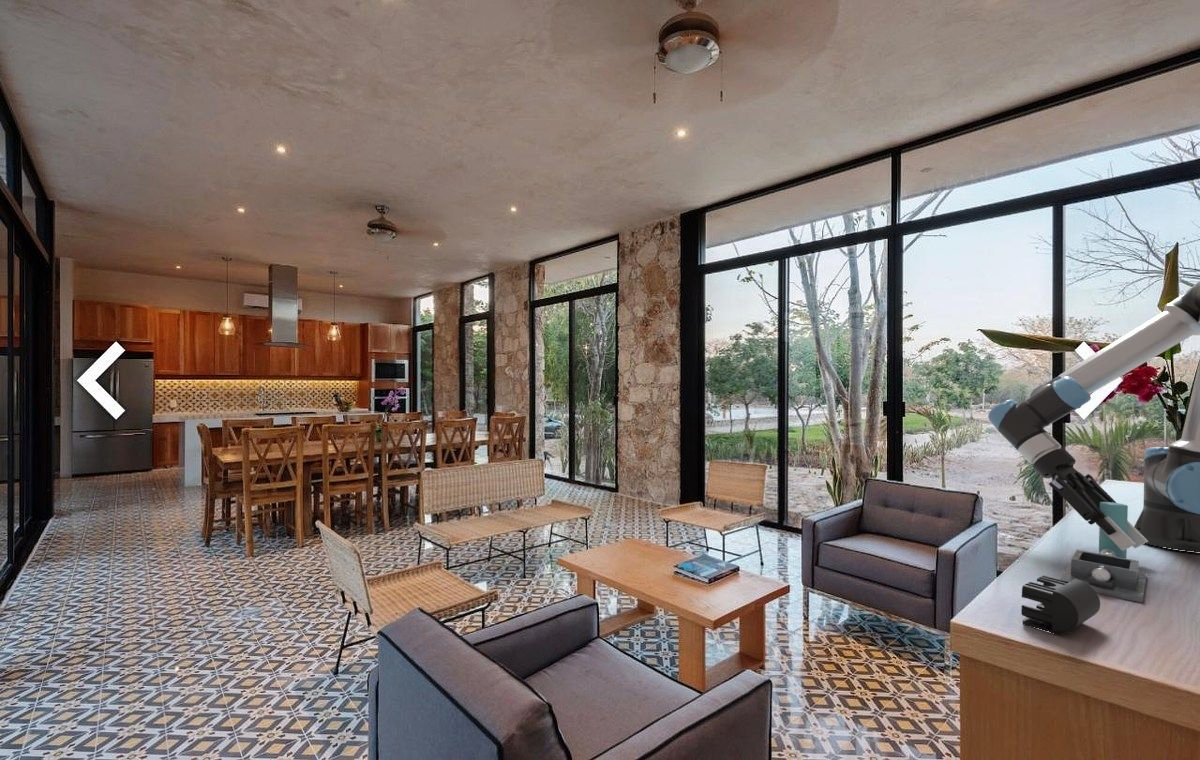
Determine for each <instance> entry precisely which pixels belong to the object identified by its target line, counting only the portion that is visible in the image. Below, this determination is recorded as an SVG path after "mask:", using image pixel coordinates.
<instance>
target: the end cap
mask: <svg viewBox="0 0 1200 760" xmlns="http://www.w3.org/2000/svg"><path fill="white" fill-rule="evenodd" d="M1036 582H1039V583H1040V584H1039V583H1036ZM1036 582H1032V581H1029V582H1026V583H1025V584H1023V585H1022V586H1021V587H1022V588H1021V598H1024V599H1028V600H1031V601H1034V602H1038V604H1037V605H1036V608H1035V607H1033V606H1030V605H1025V604H1021V610H1020V611H1021V613H1020V614H1021V615H1022V616H1023V617H1025V618H1023V619H1022V623H1023V624H1022V625H1024V624H1025V625H1024V626H1026V625H1028V626H1027V627H1029V626H1031V627H1030V628H1032V627H1035V628H1039V629H1042V630H1045V631H1049V632H1051V633H1054V634H1058V635H1057V636H1059V635H1063V634H1066V633H1069V632H1072V630H1075V629H1076V628H1077V627H1079V626H1080V625H1082V624H1084V623H1085V622H1086V621H1088V620H1089V619H1092V618H1093V617H1094V616H1096V614H1098V613H1099V611H1100V608H1101V599H1100V596H1099V594H1098V593H1096V591H1095V590H1094V589H1093V588H1092V587H1091V586H1090V585H1088V584H1087V583H1085V582H1083V581H1081V580H1078V579H1074V580H1072V581H1070V582H1067V581H1063V580H1060V579H1058V578H1055V577H1050V576H1047V575H1041V576H1040V577H1038V578H1036ZM1041 583H1042V584H1041ZM1035 628H1034V629H1035ZM1054 634H1053V635H1054Z"/></svg>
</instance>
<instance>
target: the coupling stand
mask: <svg viewBox="0 0 1200 760" xmlns="http://www.w3.org/2000/svg"><path fill="white" fill-rule="evenodd" d="M1070 559H1071V560H1070V562H1069V564H1068V566H1067V568H1066V570H1065V571H1064V573H1063V575H1062V576H1061V578H1060V579H1059V580H1063V581H1067V582H1070V581H1072V580H1074V579H1078V580H1081V581H1083V582H1085V583H1087V584H1088V585H1090V586H1091V587H1092V588H1093V589H1094V590H1095V591H1096V593H1097V594H1098V595H1099V594H1100V595H1104V596H1109V597H1114V598H1118V599H1122V600H1126V601H1127V600H1128V601H1131V602H1135V603H1140V604H1143V600H1144V595H1145V587H1146V582H1147V580H1146V579H1147V571H1144V570H1139V560H1135V559H1130V558H1126V559H1125V558H1120V557H1117V555H1116V553H1115V552H1114V551H1112V550H1110V549H1104V550H1102V551H1101V553H1100V554H1099V552H1098V553H1096V552H1093V551H1085V550H1081V549H1076V550H1075V553H1073V555H1072V557H1071V558H1070Z"/></svg>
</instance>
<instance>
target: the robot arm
mask: <svg viewBox="0 0 1200 760" xmlns="http://www.w3.org/2000/svg"><path fill="white" fill-rule="evenodd" d="M1192 336H1200V280H1199V281H1197V282H1196V283H1194V284H1193V285H1192V286H1191V287H1190V288H1189V289H1187V290H1186V291H1185V292H1183V293H1182V294H1181V295H1179V296H1178V297H1176V298H1174V299H1173V300H1172V301H1170V302H1169V303H1166V304H1165V305H1164V310H1163V312H1161V313H1159V314H1157V315H1156V316H1154V317H1153V318H1151V319H1150V320H1147V321H1146V322H1144V323H1142V324H1141V325H1139V326H1138V327H1136V328H1134V329H1132V330H1131V331H1129V332H1128V333H1126V334H1125V335H1123V336H1121V337H1120V338H1117V340H1114V341H1113V342H1112V343H1111V342H1110V344H1108V345H1107V346H1104V347H1103V348H1102V349H1100V350H1099V351H1097V352H1095V353H1094V354H1091V355H1089V356H1088V357H1087V358H1085V359H1083V360H1082V361H1080V362H1078V363H1077V364H1075V365H1074V366H1072V367H1070V368H1069V369H1067V370H1065V371H1064V372H1062V373H1060V374H1059V375H1058V376H1057V377H1054V378H1052V379H1051V380H1049V381H1047V382H1046V383H1044V384H1041V385H1038V386H1037V387H1035V388H1034V389H1033V390H1032V392H1031V393H1030V396H1029V398H1027V399H1025V400H1024V401H1022V402H1020V403H1019V402H1018V401H1016V400H1015V399H1007V400H1004V401H1003V402H1000V403H998V404H996V405H995V406H994V407H993V408H991V410H990V411H989V412H988V417H987V418H988V420H989V421H990V423H991V424H992V425H993V427H994V428H995V429H996V430H997V431H998V432H999V433H1000V434H1001V435H1002V436H1003V438H1004V439H1006V440H1007V441H1008V442H1009V444H1010V445H1012V446H1013V448H1015V450H1016V451H1018V452H1019V454H1020V455H1021V458H1022V459H1023V460H1026V461H1027V462H1028V463H1029V464H1030V465H1033V466H1032V467H1033V469H1034V470H1035V471H1037V473H1038V474H1039V475H1040V477H1042V478H1044V479H1052V481H1050V482H1049V483H1048V485H1049V486H1050V487H1051V488H1052V489H1053V490H1055V492H1057V493H1058V494H1059V495H1060V496H1061V497H1062V498H1063V499H1064V500H1065V502H1067V503H1068V504H1069V505H1070V506H1071V508H1073V509H1074V510H1075V512H1076V513H1078V515H1079V516H1080V517H1082V519H1084V520H1085V521H1086V522H1087V524H1089V525H1094V524H1096V526H1098V528H1099V527H1100V528H1101V529H1102V530H1103V531H1104V532H1105V533H1106V535H1107V536H1108V537H1109V538H1110V539H1111V540H1112V541H1113V542H1114V543H1115V544H1116V545H1117V546H1118V547H1119V548H1120V549H1121V550H1122V551H1123V550H1126V549H1129V548H1131V547H1133V549H1137V548H1139V547H1141V546H1142V545H1144V544H1145V543H1146V544H1145V545H1148V544H1150V545H1149V546H1151V545H1155V546H1159V547H1158V548H1160V547H1166V548H1171V549H1178V550H1185V551H1194V552H1200V360H1199V363H1198V365H1197V371H1196V375H1195V379H1194V383H1193V386H1192V391H1191V396H1190V401H1189V405H1188V408H1187V413H1186V417H1185V422H1184V426H1183V428H1182V429H1183V430H1182V432H1181V433H1182V435H1181V438H1180V439H1178V440H1176V441H1174V442H1172V443H1170V444H1169V445H1168V447H1167V446H1166V447H1164V446H1163V447H1162V446H1155V447H1153V446H1152V447H1148V448H1146V450H1145V452H1144V458H1143V459H1142V460H1143V463H1144V465H1143V468H1144V469H1143V507H1142V510H1141V512H1140V514H1139V516H1138V518H1137V520H1136V522H1135V524H1134V525H1133V524H1132V523H1130V521H1129V520H1128V519H1127V534H1126V533H1125V532H1124V531H1123V530H1122V529H1121V528H1120V527H1119V526H1118V525H1117V524H1116V523H1115V522H1114V521H1113V520H1112V519H1111V518H1110V517H1109V516H1108V517H1106V518H1104V517H1105V515H1104V514H1103V513H1102V512H1101V510H1100V502H1113V503H1117V501H1116V500H1114V499H1113V498H1112V496H1110V494H1109V493H1108V492H1107V491H1105V490H1104V489H1103V488H1102V486H1101V485H1100V484H1099V483H1097V481H1096V480H1095V479H1094V477H1093V476H1092V475H1091V474H1089V473H1088V474H1086V475H1084V474H1083V473H1081V472H1080V471H1078V470H1077V469H1075V468H1074V465H1075V464H1076V462H1077V461H1076V459H1075V458H1074V457H1073V455H1072V454H1070V453H1069V451H1068V450H1066V449H1065V448H1062V445H1061V443H1059V442H1058V441H1057V440H1056V438H1054V437H1053V436H1052V435H1051V434H1050V433H1049V432H1048V431H1047V430H1046V429H1045V428H1046V427H1048V426H1050V425H1052V424H1053V423H1055V422H1057V421H1058V420H1060V419H1061V418H1064V417H1065V416H1067V415H1069V414H1071V413H1072V412H1074V411H1076V410H1077V409H1081V408H1082V406H1084V405H1085V404H1087V403H1088V402H1089V401H1090V400H1091V399H1092V398H1091V394H1092V393H1095V392H1096V391H1098V390H1100V389H1102V388H1103V387H1105V386H1107V385H1108V384H1110V383H1112V382H1114V381H1116V380H1118V379H1119V378H1120V377H1123V376H1124V375H1126V374H1127V373H1129V372H1131V371H1133V370H1134V369H1136V368H1139V366H1141V365H1143V364H1144V363H1147V362H1149V361H1150V360H1152V359H1154V358H1156V357H1157V356H1159V355H1161V354H1162V353H1165V352H1166V351H1168V350H1170V349H1171V348H1173V347H1174V346H1176V345H1178V344H1180V343H1182V342H1183V341H1185V340H1187V339H1189V338H1190V337H1192ZM1155 546H1154V547H1155Z"/></svg>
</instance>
